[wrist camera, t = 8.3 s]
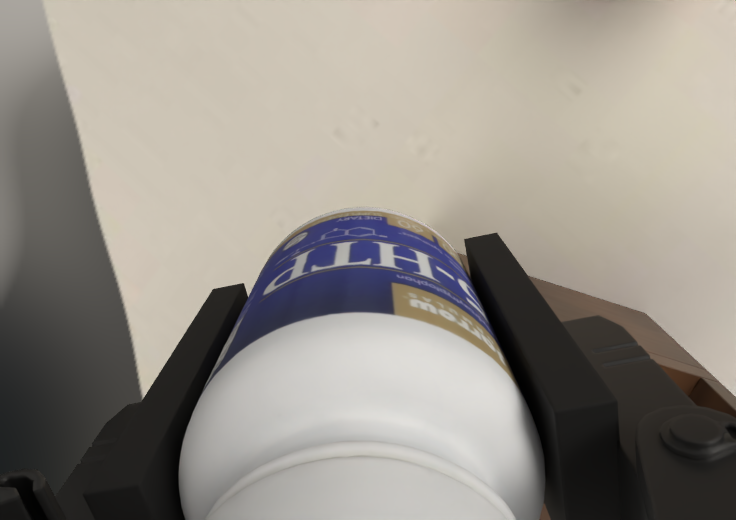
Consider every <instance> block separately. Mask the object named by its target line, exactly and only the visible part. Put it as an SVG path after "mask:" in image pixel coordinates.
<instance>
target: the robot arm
mask: <svg viewBox="0 0 736 520" xmlns="http://www.w3.org/2000/svg"><path fill="white" fill-rule="evenodd" d="M464 240H465V247H466V253H467V259H468V266H469V272H470V278H471V280H472V282H473V284H474V287H475V289H476V291H477V293H478V296H479V298H480V300H481V302H482V304H483V307H484V309H485V311H486V313H487V316H488V318H489V320H490V322H491V325H492V327H493V329H494V331H495V333H496V336H497V338H498V340H499V342H500V344H501V347H502V349H503V351H504V353H505V356H506V358H507V360H508V362H509V364H510V366H511V369H512V371H513V373H514V375H515V377H516V380H517V382H518V384H519V386H520V388H521V390H522V392H523V394H524V397H525V399H526V402H527V404H528V407H529V409H530V412H531V414H532V417H533V419H534V422H535V425H536V428H537V431H538V434H539V437H540V440H541V445H542V449H543V454H544V461H545V479H546V482H545V496H544V504H545V506H546V509H547V511H548V514H549V516H550V519H551V520H736V418H735V417H733V416H731V415H729V414H727V413H723V412H720V411H717V410H714V409H711V408H707V407H700V406H697V405H696V404H695V403H694V402H693V401H692V400H691V399H690V398H689V397H688V396H687V395H686V394H685V393H684V391H683V390H682V389H681V388H680V387H679V386H678V385H677V384H676V383H675V382H674V381H673V380H672V379H671V378H670V376H669V375H668V374H667V373H666V372H665V371H664V370H663V369H662V368H661V367H660V366H659V365H658V364H657V363H656V361H655V360H654V359H651V358H650V355H649V354H648V353H647V352H646V351H645V350H644V349H643V348H642V346H641V345H638V343H637V341H636V340H635V339H634V338H633V337H632V336H631V335H630V334H629V332H628V331H627V330H626V329H625V328H624V327H623V326H621V325H619V324H617V323H615V322H613V321H610V320H608V319H606V318H604V317H602V316H600V315H596V316H590V317H585V318H580V319H574V320H569V321H564V322H561V321H560V320H559V319H558V317H557V316H556V314H555V313H554V312H553V310H552V309H551V307H550V306H549V305H548V303H547V302H546V300H545V299H544V298H543V296H542V295H541V293H540V292H539V291H538V289H537V288H536V287H535V285H534V284H533V282H532V281H531V280H530V278H529V277H528V275H527V274H526V273H525V271H524V270H523V268H522V267H521V266H520V264H519V263H518V262H517V260H516V259H515V257H514V256H513V255H512V253H511V252H510V250H509V249H508V248H507V246H506V245H505V243H504V242H503V241H502V239H501V238H500V237H499V235H498V234H497V233H493V234H488V235H483V236H478V237H473V238H468V239H464ZM247 299H248V295H247V292H246V289H245V286H244V283H242V284H237V285H232V286H227V287H222V288H217V289H213V290H212V292H211V293H210V295H209V297H208V298H207V300H206V301H205V303H204V304H203V306H202V307H201V309H200V311H199V312H198V314H197V315H196V317H195V318H194V320H193V322H192V323H191V325H190V326H189V328H188V329H187V331H186V333H185V334H184V336H183V337H182V339H181V340H180V342H179V344H178V345H177V347H176V348H175V350H174V351H173V353H172V355H171V356H170V358H169V359H168V361H167V362H166V364H165V366H164V367H163V369H162V370H161V372H160V373H159V375H158V377H157V378H156V380H155V381H154V383H153V384H152V386H151V388H150V389H149V391H148V392H147V394H146V395H145V397H144V399H143V400H142V402H140V403H134V404H129V405H127V406H126V407H125V408H123V409H122V410H121V411H120V412H119V413H118V414H117V415H115V416H114V417H113V418H112V419H111V420H109V421H108V422H107V423H106V424H105V426H104V427H103V429H102V430H101V432H100V433H99V434H98V436H97V437H96V439H95V440H94V442H93V443H92V447H89V449H88V450H87V452H86V453H85V454H84V456H83V457H82V459H81V464H78V465H77V466H76V467H75V469H74V470H73V472H72V473H71V475H70V476H69V477H68V479H67V480H66V482H65V483H64V485H63V486H62V488H61V489H60V490H59V492H58V493H57V495H56V496H54V494H53V492H52V490H51V488H50V486H49V484H48V483H47V481H46V479H45V477H44V476H43V475H42V474H41V473H40V472H39V471H38V470H35V469H19V470H15V471H11V472H6V473H3V474H1V475H0V520H185V517H184V514H183V510H182V507H181V500H180V493H179V477H178V473H179V462H180V455H181V449H182V444H183V440H184V437H185V433H186V430H187V427H188V424H189V422H190V419H191V416H192V413H193V411H194V409H195V407H196V405H197V402H198V400H199V397H200V396H201V394H202V392H203V389H204V387H205V385H206V383H207V381H208V379H209V377H210V375H211V372H212V370H213V368H214V367H215V365H216V363H217V360H218V358H219V356H220V354H221V352H222V350H223V347H224V346H225V344H226V342H227V340H228V338H229V336H230V334H231V332H232V330H233V328H234V326H235V324H236V322H237V320H238V318H239V316H240V314H241V311H242V309H243V307H244V305H245V303H246V301H247Z"/></svg>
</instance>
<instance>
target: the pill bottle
mask: <svg viewBox="0 0 736 520" xmlns="http://www.w3.org/2000/svg"><path fill="white" fill-rule="evenodd" d="M178 477H179V493H180V500H181V507H182V510H183V514H184V517H185V520H539V519H540V515H541V511H542V507H543V503H544V496H545V482H546V479H545V461H544V454H543V449H542V445H541V440H540V437H539V434H538V431H537V428H536V425H535V422H534V419H533V417H532V414H531V412H530V409H529V407H528V404H527V402H526V399H525V397H524V394H523V392H522V390H521V388H520V386H519V384H518V382H517V380H516V377H515V375H514V373H513V371H512V369H511V366H510V364H509V362H508V360H507V358H506V356H505V353H504V351H503V349H502V347H501V344H500V342H499V340H498V338H497V336H496V333H495V331H494V329H493V327H492V325H491V322H490V320H489V318H488V316H487V313H486V311H485V309H484V307H483V304H482V302H481V300H480V298H479V296H478V293H477V291H476V289H475V287H474V284H473V282H472V280H471V278H470V276H469V274H468V272H467V270H466V268H465V266H464V264H463V262H462V261H461V259H460V257H459V256H458V254H457V253H456V251H455V250H454V249H453V247H452V246H451V245H450V244H449V243H448V242H447V241H446V240H445V239H444V238H443V237H442V236H441V235H440V234H439V233H437V232H436V231H435V230H433V229H432V228H430V227H429V226H427V225H426V224H424V223H422V222H421V221H419V220H416V219H414V218H412V217H410V216H407V215H404V214H402V213H399V212H395V211H392V210H388V209H382V208H373V207H355V208H346V209H341V210H336V211H333V212H330V213H326V214H324V215H321V216H319V217H316V218H314V219H312V220H310V221H308V222H306V223H305V224H303V225H302V226H300V227H299V228H297V229H296V230H294V231H293V232H292V233H291V234H289V235H288V236H287V237H286V238H285V239H284V240H283V241H282V242H281V243H280V244H279V245H278V246H277V248H276V249H275V250H274V251H273V253H272V254H271V256H270V257H269V259H268V261H267V262H266V264H265V266H264V267H263V269H262V271H261V273H260V275H259V277H258V279H257V281H256V283H255V285H254V287H253V289H252V291H251V293H250V295H249V297H248V299H247V301H246V303H245V305H244V307H243V309H242V311H241V314H240V316H239V318H238V320H237V322H236V324H235V326H234V328H233V330H232V332H231V334H230V336H229V338H228V340H227V342H226V344H225V346H224V347H223V350H222V352H221V354H220V356H219V358H218V360H217V363H216V365H215V367H214V368H213V370H212V372H211V375H210V377H209V379H208V381H207V383H206V385H205V387H204V389H203V392H202V394H201V396H200V397H199V400H198V402H197V405H196V407H195V409H194V411H193V413H192V416H191V419H190V422H189V424H188V427H187V430H186V433H185V437H184V440H183V444H182V449H181V455H180V462H179V473H178Z"/></svg>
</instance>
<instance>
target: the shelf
mask: <svg viewBox="0 0 736 520" xmlns="http://www.w3.org/2000/svg"><path fill="white" fill-rule="evenodd" d="M457 254H458V256H459V257H460V259H461V261H462V262H463V264H464V266H465V268H466V270H467V272H468V274H469V276H470V272H469V266H468V259H467V256H465V255H462V254H459V253H457ZM528 277H529V278H530V280H531V281H532V282H533V284H534V285H535V287H536V288H537V289H538V291H539V292H540V293H541V295H542V296H543V298H544V299H545V300H546V302H547V303H548V305H549V306H550V307H551V309H552V310H553V312H554V313H555V314H556V316H557V317H558V319H559V320H560V321H561V322H564V321H569V320H574V319H580V318H585V317H590V316H596V315H600V316H602V317H604V318H606V319H608V320H610V321H613V322H615V323H617V324H619V325H621V326H623V327H624V328H625V329H626V330H627V331H628V332H629V334H630V335H631V336H632V337H633V338H634V339H635V340H636V341H637V343H638V345H641V346H642V348H643V349H644V350H645V351H646V352H647V353H648V354H649V355H650V358H651V359H654V360H655V361H656V363H657V364H658V365H659V366H660V367H661V368H662V369H663V370H664V371H665V372H666V373H667V374H668V375H669V376H670V378H671V379H672V380H673V381H674V382H675V383H676V384H677V385H678V386H679V387H680V388H681V389H682V390H683V391H684V393H685V394H686V395H687V396H688V397H689V398H690V399H691V400H692V401H693V402H694V403H695V404H696V405H697V406H700V407H707V408H711V409H714V410H717V411H720V412H723V413H727V414H729V415H731V416H733V417H735V418H736V397H735V396H734V395H733V394H732V393H731V392H730V391H729V390H728V389H726V388H725V387H724V386H723V385H722V384H721V383H720V382H719V381H718V380H717V379H716V378H715V377H714V376H713V375H712V374H710V373H709V372H708V371H707V370H706V369H705V368H704V367H703V366H702V365H701V364H700V363H698V362H697V361H696V360H695V359H694V358H693V357H692V356H691V355H690V354H689V353H688V352H687V351H686V350H685V349H683V348H682V347H681V346H680V345H679V344H678V343H677V342H676V341H675V340H674V339H673V338H672V337H671V336H669V335H668V334H667V333H666V332H665V331H664V330H663V329H662V328H661V327H660V326H659V325H658V324H657V323H656V322H654V321H653V320H652V319H651V318H650V317H649V316H648V315H647V314H645V313H642V312H639V311H636V310H633V309H630V308H627V307H623V306H620V305H617V304H614V303H611V302H608V301H605V300H602V299H599V298H595V297H592V296H589V295H586V294H583V293H580V292H577V291H574V290H571V289H568V288H564V287H561V286H558V285H555V284H552V283H549V282H546V281H543V280H540V279H536V278H533V277H530V276H528ZM539 520H551V519H550V516H549V514H548V511H547V509H546V506H545V504H544V503H543V507H542V511H541V515H540V519H539Z"/></svg>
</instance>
